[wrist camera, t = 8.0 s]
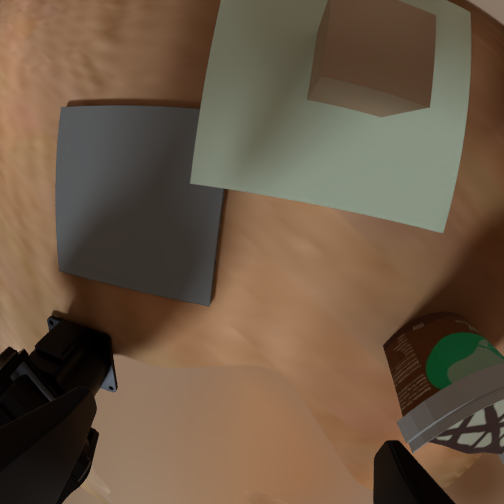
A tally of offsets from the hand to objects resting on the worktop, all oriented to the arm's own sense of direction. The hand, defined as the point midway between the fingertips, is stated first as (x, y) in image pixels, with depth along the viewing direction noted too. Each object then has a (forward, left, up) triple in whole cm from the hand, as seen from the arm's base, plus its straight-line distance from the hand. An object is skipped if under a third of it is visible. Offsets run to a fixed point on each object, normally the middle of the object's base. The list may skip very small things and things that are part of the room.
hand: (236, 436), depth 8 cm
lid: (+11, -2, -8) cm, 13 cm away
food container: (-3, -15, -13) cm, 20 cm away
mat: (+3, +9, -12) cm, 16 cm away
